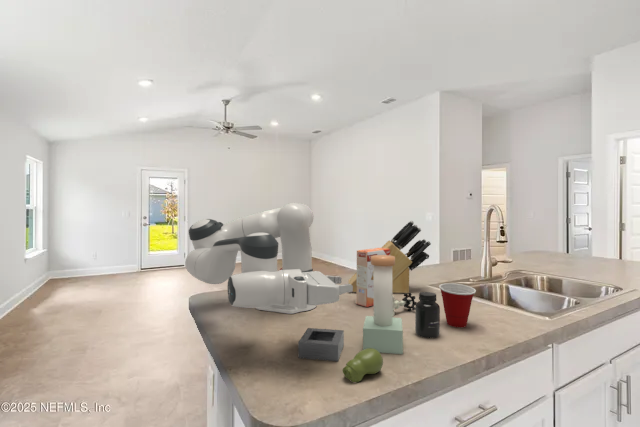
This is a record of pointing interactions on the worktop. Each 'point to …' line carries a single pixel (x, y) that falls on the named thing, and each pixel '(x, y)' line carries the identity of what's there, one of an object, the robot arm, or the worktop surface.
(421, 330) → the supplement bottle
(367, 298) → the cracker box
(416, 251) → the knife block
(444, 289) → the plastic cup
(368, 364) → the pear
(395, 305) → the valve
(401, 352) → the parts stand
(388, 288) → the end plug
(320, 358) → the block
